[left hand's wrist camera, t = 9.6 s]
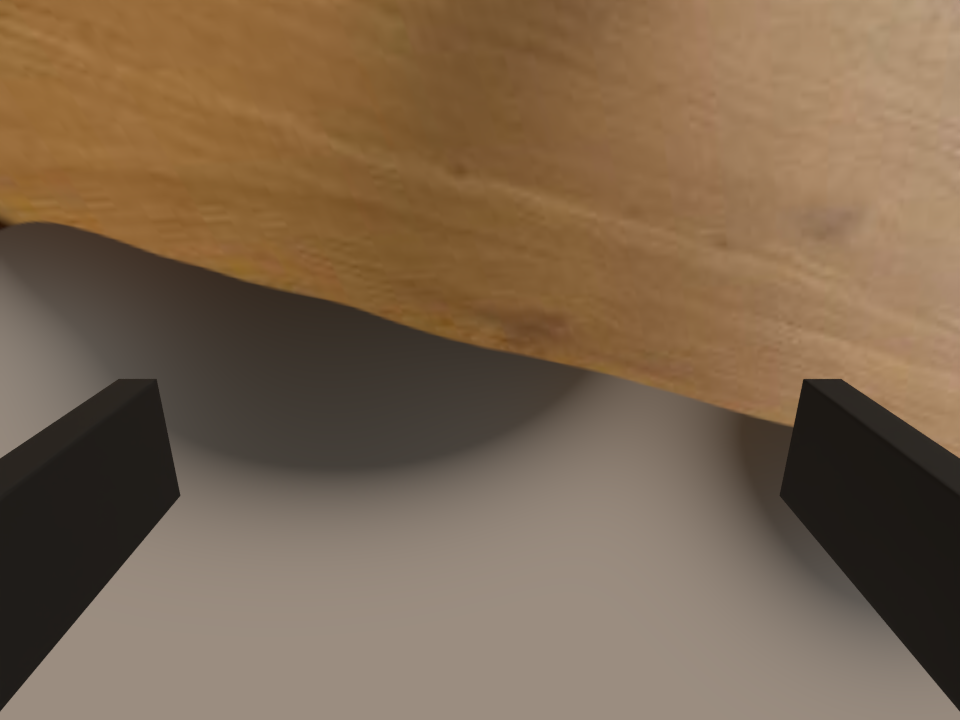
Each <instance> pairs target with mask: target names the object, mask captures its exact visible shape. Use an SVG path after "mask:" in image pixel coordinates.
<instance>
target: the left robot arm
mask: <svg viewBox="0 0 960 720" xmlns="http://www.w3.org/2000/svg"><path fill="white" fill-rule="evenodd" d="M179 497H180V492H179V487H178V482H177V477H176V472H175V467H174V462H173V457H172V453H171V448H170V443H169V438H168V433H167V428H166V423H165V418H164V413H163V409H162V404H161V399H160V394H159V389H158V384H157V379H118V380H117V381H115V382H114V383H112V384H111V385H109V386H108V387H106V388H105V389H103V390H102V391H100V392H99V393H97V394H96V395H94V396H93V397H91V398H90V399H88V400H87V401H85V402H84V403H82V404H81V405H79V406H78V407H76V408H75V409H73V410H72V411H70V412H69V413H67V414H66V415H65V416H63V417H61V418H60V419H59V420H57V421H56V422H54V423H53V424H51V425H50V426H48V427H47V428H45V429H44V430H42V431H41V432H39V433H38V434H36V435H35V436H33V437H32V438H30V439H29V440H27V441H26V442H24V443H23V444H21V445H20V446H18V447H17V448H15V449H14V450H12V451H11V452H9V453H8V454H6V455H5V456H3V457H2V458H0V711H1V710H2V709H3V707H4V706H5V705H6V704H7V703H8V701H9V700H10V699H11V698H12V697H13V695H14V694H15V693H16V692H17V691H18V689H19V688H20V687H21V686H22V685H23V683H24V682H25V681H26V680H27V679H28V677H29V676H30V675H31V674H32V673H33V671H34V670H35V669H36V668H37V667H38V665H39V664H40V663H41V662H42V661H43V659H44V658H45V657H46V656H47V655H48V653H49V652H50V651H51V650H52V649H53V647H54V646H55V645H56V644H57V643H58V641H59V640H60V639H61V638H62V637H63V635H64V634H65V633H66V632H67V631H68V629H69V628H70V627H71V626H72V625H73V624H74V622H75V621H76V620H77V619H78V617H79V616H80V615H81V614H82V613H83V612H84V610H85V609H86V608H87V607H88V606H89V604H90V603H91V602H92V601H93V600H94V598H95V597H96V596H97V595H98V594H99V592H100V591H101V590H102V589H103V588H104V586H105V585H106V584H107V583H108V582H109V580H110V579H111V578H112V577H113V576H114V574H115V573H116V572H117V571H118V570H119V568H120V567H121V566H122V565H123V564H124V562H125V561H126V560H127V559H128V558H129V556H130V555H131V554H132V553H133V552H134V550H135V549H136V548H137V547H138V546H139V544H140V543H141V542H142V541H143V540H144V538H145V537H146V536H147V535H148V534H149V533H150V531H151V530H152V529H153V528H154V526H155V525H156V524H157V523H158V522H159V521H160V519H161V518H162V517H163V516H164V515H165V513H166V512H167V511H168V510H169V508H170V507H171V506H172V505H173V504H174V503H175V501H176V500H177V499H178V498H179ZM780 497H781V498H782V499H783V500H784V501H785V503H786V504H787V505H788V506H789V507H790V509H791V510H792V511H793V512H794V513H795V515H796V516H797V517H798V518H799V519H800V521H801V522H802V523H803V524H804V525H805V526H806V528H807V529H808V530H809V531H810V533H811V534H812V535H813V536H814V537H815V539H816V540H817V541H818V542H819V543H820V544H821V546H822V547H823V548H824V549H825V550H826V552H827V553H828V554H829V555H830V556H831V558H832V559H833V560H834V561H835V562H836V564H837V565H838V566H839V567H840V568H841V570H842V571H843V572H844V573H845V574H846V576H847V577H848V578H849V579H850V580H851V582H852V583H853V584H854V585H855V586H856V588H857V589H858V590H859V591H860V592H861V594H862V595H863V596H864V597H865V598H866V600H867V601H868V602H869V603H870V604H871V606H872V607H873V608H874V609H875V610H876V612H877V613H878V614H879V615H880V616H881V618H882V619H883V620H884V621H885V622H886V624H887V625H888V626H889V627H890V628H891V630H892V631H893V632H894V633H895V634H896V636H897V637H898V638H899V639H900V640H901V641H902V643H903V644H904V645H905V646H906V647H907V649H908V650H909V651H910V652H911V653H912V655H913V656H914V657H915V658H916V659H917V661H918V662H919V663H920V664H921V665H922V667H923V668H924V669H925V670H926V671H927V673H928V674H929V675H930V676H931V677H932V679H933V680H934V681H935V682H936V683H937V685H938V686H939V687H940V688H941V689H942V691H943V692H944V693H945V694H946V695H947V697H948V698H949V699H950V700H951V701H952V703H953V704H954V705H955V706H956V707H957V709H958V710H959V711H960V458H958V457H957V456H955V455H954V454H952V453H951V452H949V451H948V450H946V449H945V448H943V447H942V446H940V445H939V444H937V443H936V442H934V441H933V440H931V439H930V438H928V437H927V436H925V435H924V434H922V433H921V432H919V431H918V430H916V429H915V428H913V427H912V426H910V425H909V424H907V423H906V422H904V421H903V420H901V419H900V418H899V417H897V416H896V415H894V414H893V413H891V412H890V411H888V410H887V409H885V408H884V407H882V406H881V405H879V404H878V403H876V402H875V401H873V400H872V399H870V398H869V397H867V396H866V395H864V394H863V393H861V392H860V391H858V390H857V389H855V388H854V387H852V386H851V385H849V384H848V383H846V382H845V381H843V380H842V379H803V384H802V389H801V394H800V399H799V403H798V408H797V413H796V418H795V423H794V428H793V433H792V438H791V443H790V448H789V453H788V457H787V462H786V467H785V472H784V477H783V482H782V487H781V492H780Z"/></svg>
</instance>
